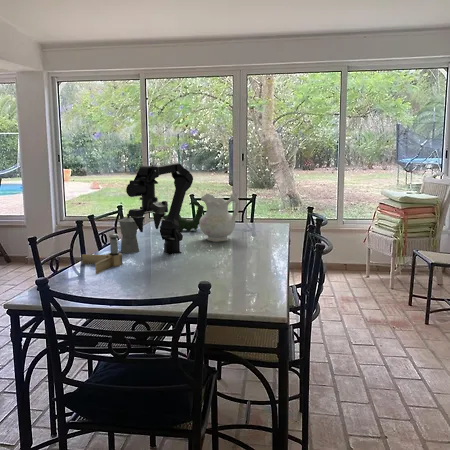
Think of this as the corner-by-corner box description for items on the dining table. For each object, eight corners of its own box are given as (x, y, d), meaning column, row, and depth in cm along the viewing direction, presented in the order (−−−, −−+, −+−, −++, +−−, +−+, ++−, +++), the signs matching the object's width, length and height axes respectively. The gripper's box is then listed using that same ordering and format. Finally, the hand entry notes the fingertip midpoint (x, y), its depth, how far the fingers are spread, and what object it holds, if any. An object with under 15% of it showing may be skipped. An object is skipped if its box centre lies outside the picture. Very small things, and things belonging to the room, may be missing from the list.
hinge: (113, 259, 201) (113, 249, 201) (129, 268, 186) (129, 257, 185) (82, 263, 194) (81, 253, 193) (96, 273, 179) (95, 262, 178)
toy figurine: (202, 232, 273) (161, 228, 273) (205, 200, 269) (163, 197, 270) (200, 235, 263) (158, 231, 264) (203, 202, 260) (160, 198, 261)
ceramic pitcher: (241, 238, 250) (241, 193, 248) (238, 243, 231) (238, 194, 229) (202, 238, 253) (202, 193, 250) (196, 242, 233) (196, 194, 231)
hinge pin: (117, 262, 195) (116, 233, 193) (120, 264, 192) (119, 234, 189) (108, 264, 193) (107, 234, 190) (112, 266, 190) (110, 235, 187)
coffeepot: (144, 252, 214) (143, 214, 211) (125, 255, 209) (124, 216, 206) (132, 246, 226) (130, 210, 223) (113, 248, 221) (112, 212, 218)
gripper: (145, 198, 183) (146, 236, 186) (176, 194, 198) (177, 229, 201) (126, 196, 190) (128, 233, 192) (158, 192, 204) (159, 226, 207)
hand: (149, 230), depth 198 cm, fingers open, 9 cm apart
